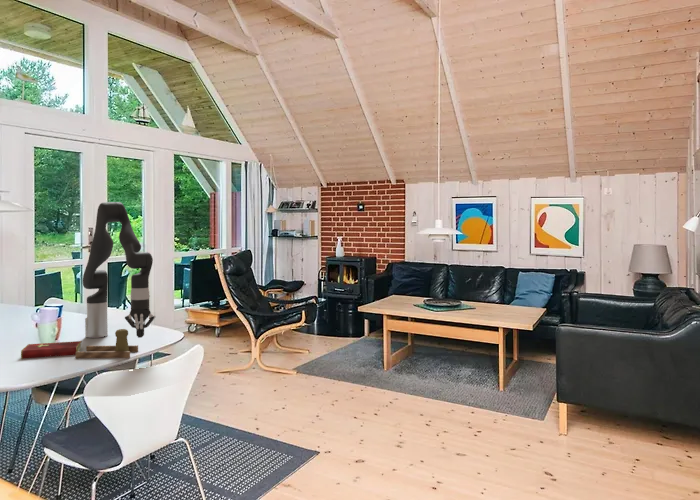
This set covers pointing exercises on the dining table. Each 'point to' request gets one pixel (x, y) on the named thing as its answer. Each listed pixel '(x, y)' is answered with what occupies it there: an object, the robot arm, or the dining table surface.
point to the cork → (121, 340)
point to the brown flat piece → (105, 352)
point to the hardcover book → (50, 349)
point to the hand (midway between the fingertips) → (140, 337)
